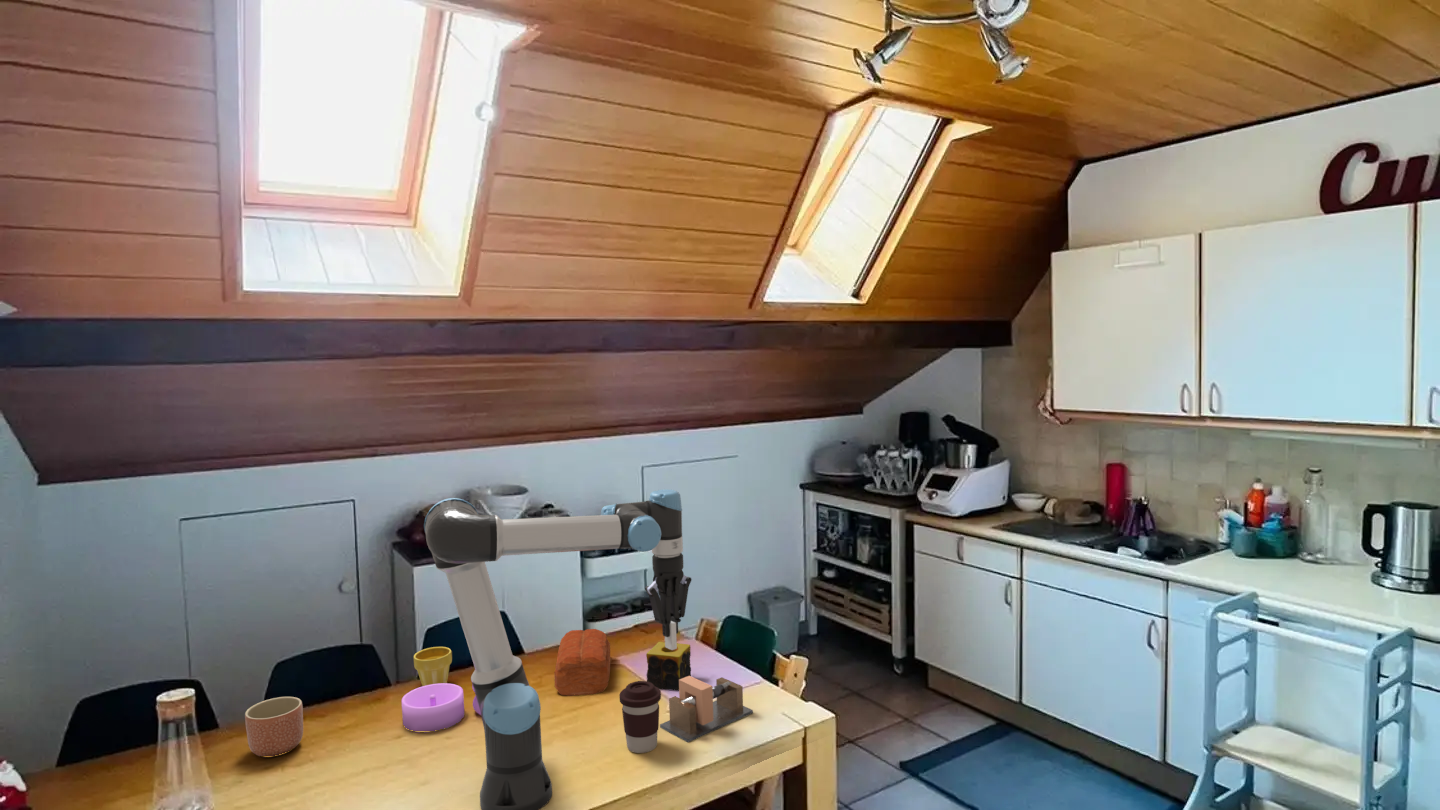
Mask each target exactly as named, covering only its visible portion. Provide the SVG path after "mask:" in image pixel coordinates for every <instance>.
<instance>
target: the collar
mask: <svg viewBox="0 0 1440 810" xmlns="http://www.w3.org/2000/svg"><path fill="white" fill-rule="evenodd" d="M712 687H713V685H711V684H708V683H706V682H704V681H703V680H700V679H697V678H696V677H693V676H692V675H691V676H687V677H685V678H682V679H679V691H678V695H679V696H678V698H680V699H682V700H684V699H687V698H689V697H692V696H696V722H697V723H699V724H701V725H705V724H707V723H709V722H712V721H713V702H714V699H713V689H712Z"/></svg>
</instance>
